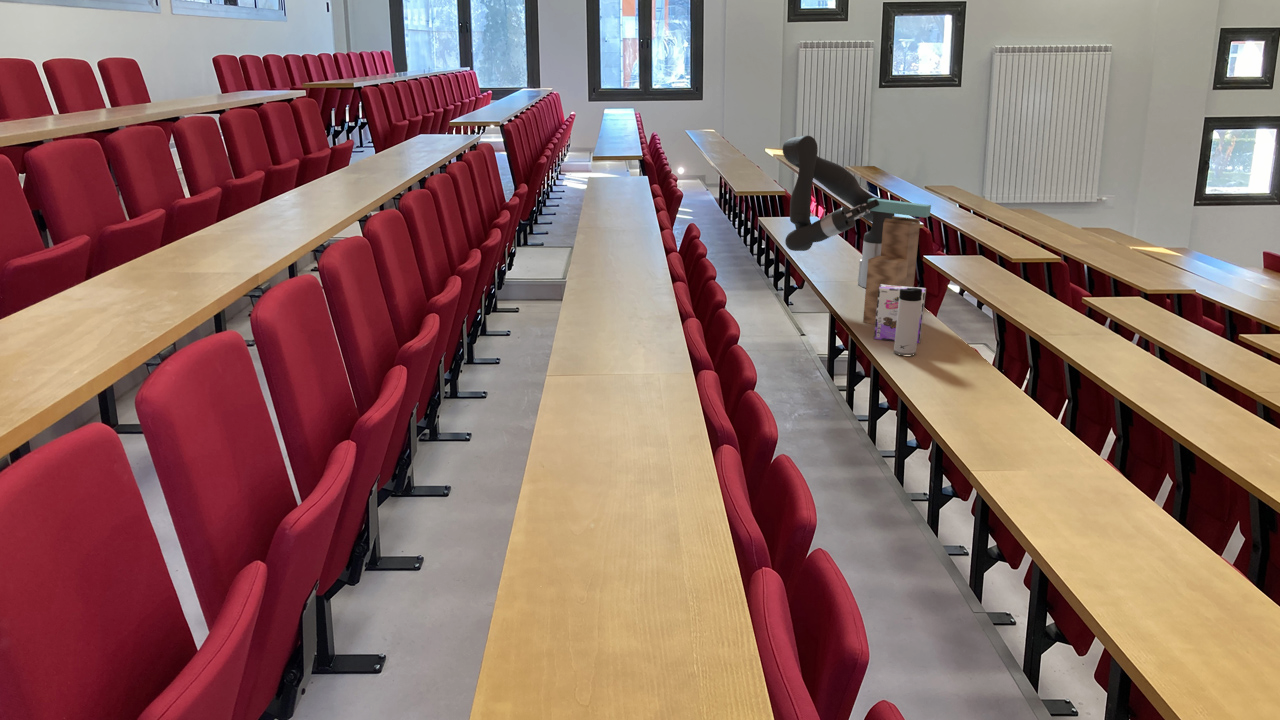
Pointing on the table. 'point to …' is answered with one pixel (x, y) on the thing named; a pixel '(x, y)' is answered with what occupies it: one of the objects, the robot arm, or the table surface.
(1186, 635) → the table surface
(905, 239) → the tall stand
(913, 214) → the light blue rectangular bar
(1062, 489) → the table surface
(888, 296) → the candy box
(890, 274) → the wooden block
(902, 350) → the travel mug
